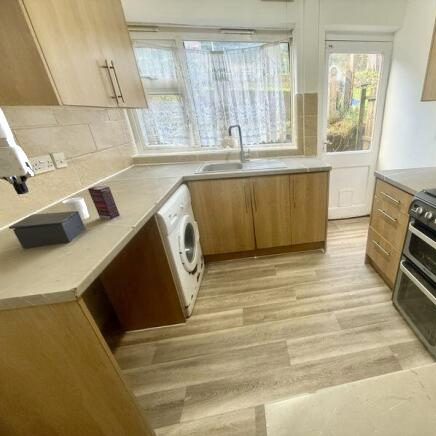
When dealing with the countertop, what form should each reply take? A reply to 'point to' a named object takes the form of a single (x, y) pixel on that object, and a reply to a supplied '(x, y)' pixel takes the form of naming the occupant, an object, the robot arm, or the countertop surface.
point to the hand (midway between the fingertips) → (23, 193)
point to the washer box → (50, 233)
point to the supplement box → (104, 202)
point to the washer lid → (44, 219)
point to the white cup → (76, 206)
